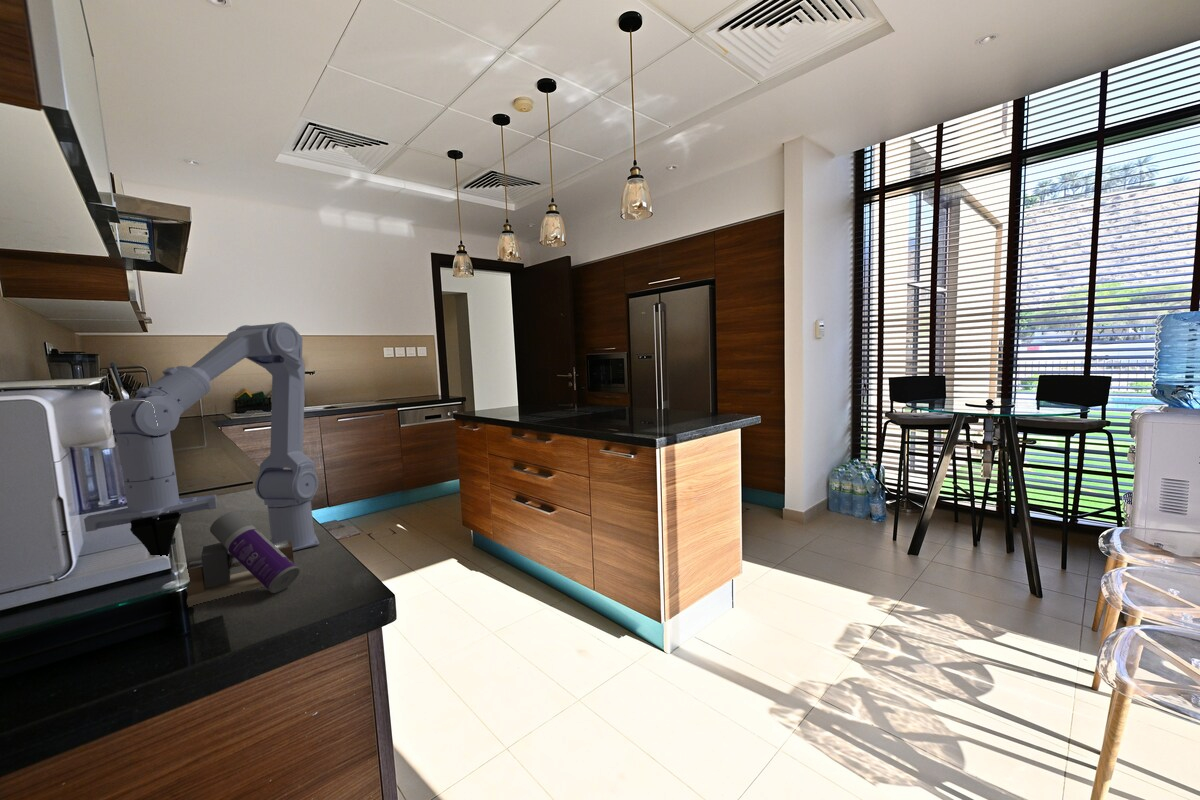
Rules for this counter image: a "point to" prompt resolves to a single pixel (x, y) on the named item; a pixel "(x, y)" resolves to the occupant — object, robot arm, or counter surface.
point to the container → (254, 551)
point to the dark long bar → (233, 558)
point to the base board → (236, 584)
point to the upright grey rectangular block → (215, 565)
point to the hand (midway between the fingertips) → (162, 564)
